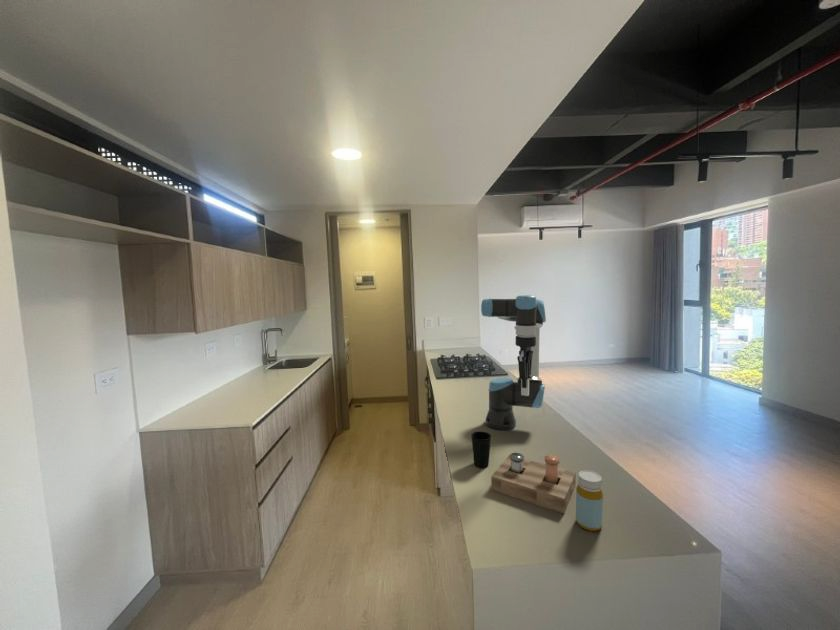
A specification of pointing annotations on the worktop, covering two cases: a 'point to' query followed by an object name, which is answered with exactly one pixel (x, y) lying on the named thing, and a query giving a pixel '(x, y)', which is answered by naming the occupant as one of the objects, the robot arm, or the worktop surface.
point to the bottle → (589, 501)
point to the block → (534, 485)
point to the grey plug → (517, 463)
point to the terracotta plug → (551, 469)
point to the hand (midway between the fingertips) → (525, 394)
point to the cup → (481, 448)
